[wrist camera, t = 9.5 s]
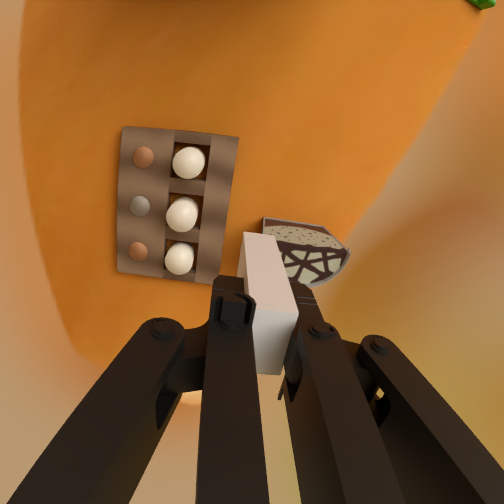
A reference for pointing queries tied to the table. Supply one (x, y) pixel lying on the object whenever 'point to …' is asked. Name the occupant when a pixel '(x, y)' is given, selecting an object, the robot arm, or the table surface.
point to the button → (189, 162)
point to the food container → (307, 251)
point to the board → (158, 201)
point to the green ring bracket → (483, 3)
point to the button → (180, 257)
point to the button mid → (182, 214)
